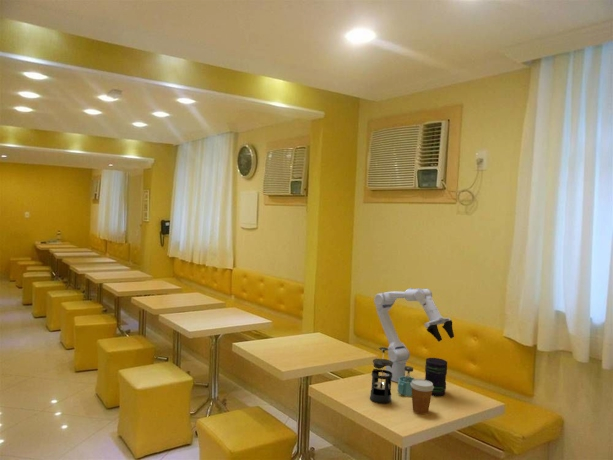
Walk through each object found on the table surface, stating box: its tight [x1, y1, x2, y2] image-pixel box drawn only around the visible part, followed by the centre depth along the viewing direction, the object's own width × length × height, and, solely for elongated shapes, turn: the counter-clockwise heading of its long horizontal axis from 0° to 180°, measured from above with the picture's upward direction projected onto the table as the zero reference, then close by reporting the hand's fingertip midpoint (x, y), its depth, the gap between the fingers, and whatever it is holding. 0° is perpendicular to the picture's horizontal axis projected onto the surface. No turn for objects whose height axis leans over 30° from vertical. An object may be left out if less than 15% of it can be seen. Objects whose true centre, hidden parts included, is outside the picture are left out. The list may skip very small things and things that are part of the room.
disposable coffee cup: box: [411, 378, 434, 415], centre depth 192 cm, size 10×10×12 cm
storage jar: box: [424, 357, 448, 398], centre depth 214 cm, size 10×10×15 cm
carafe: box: [397, 376, 416, 397], centre depth 212 cm, size 8×10×6 cm
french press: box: [369, 346, 393, 405], centre depth 202 cm, size 12×9×23 cm
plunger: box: [404, 365, 414, 383], centre depth 212 cm, size 6×6×8 cm
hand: (446, 339), depth 207 cm, fingers open, 7 cm apart
